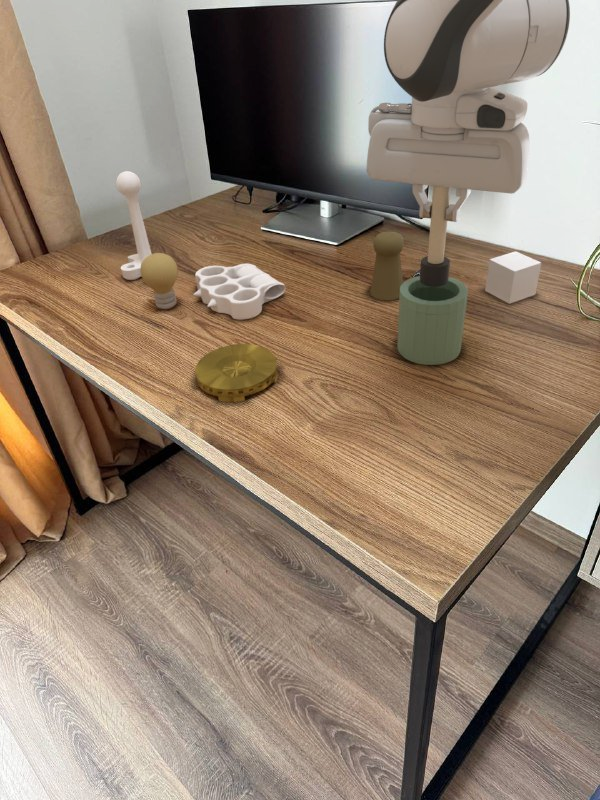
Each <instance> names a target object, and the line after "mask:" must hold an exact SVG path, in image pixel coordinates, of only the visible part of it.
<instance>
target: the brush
mask: <svg viewBox="0 0 600 800" xmlns="http://www.w3.org/2000/svg"><path fill="white" fill-rule="evenodd" d="M450 195H451V188H450V187H440V186H432V195H431V197H432V198H431V202H432V209H431V218H430V224H429V225H430V226H429V234H428V235H429V237H428V248H427V249H428V251H427V256H424V257H423V258H421V259H420V271H419V276H420V282H421V283H422V284H424V285H426V286H431V287H439V286H443V285H445V284H447V283H448V278H449V277H450V268H451V260H450V259H449V258H448V257H446V256H445V250H446V240H447V231H448V230H447V229H448V228H447V227H448V221H446V220H445V217H446V208H447V207H449V205H450V197H451V196H450Z"/></svg>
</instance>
